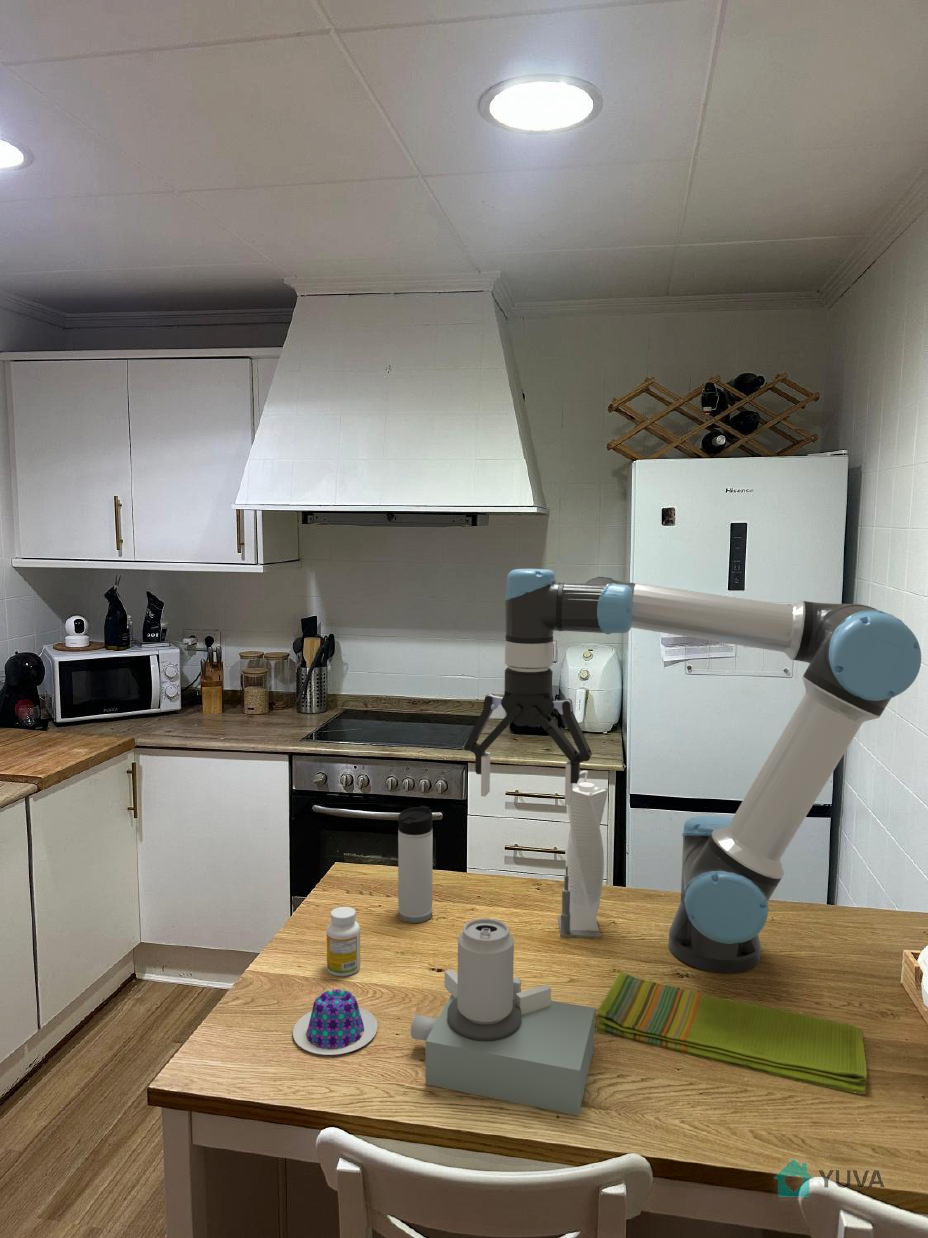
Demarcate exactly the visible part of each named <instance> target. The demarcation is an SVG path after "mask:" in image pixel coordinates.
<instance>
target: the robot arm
mask: <svg viewBox="0 0 928 1238" xmlns="http://www.w3.org/2000/svg"><path fill="white" fill-rule="evenodd" d="M504 601H505V639H504V640H505V643H504V664H505V665H506V666H507V667H505V668H506V669H504V693H503V696H497V695H496V694H494V693H493V692H492V693H489V694H488V695H487V696H485V697H484V701H483V709H482V711H481V714H480V715H479V717H477V720H476V722H475V725H474V727H473V728H472V730H471V732H470V734H469V736H468V738H467V740H466V742H464V743H465V744H464V745H463V749H464V750H465V751H467V752H471V753H473V754H474V757H475V758H474V759H475V760H474V761H475V768H474V769H475V770H474V771H475V774H476V775H480V796H481V797H487V795H488V794H489V793H490V791H491V787H490V785H491V752H486V750H488V748H489V747H490V746H491V745H492V744H493V743H494V742H495V741H496V740H497V739H498V737H499V736H500V735H501V734H502V733H503V732H504V731H505V730H506V729H507V727H508V726H510V724H511V723H513V724H515V725H516V727H524V726H527V727H530V728H537V727H539V726H541V728H542V729H543V731H545V732H546V733H547V734H548V735H549V736H550V737H551V739H552V740H553V742H554V743H555V744H556V745H557V747H558V748H559V749H560V750H561V751H562V753H563V754H564V755H565V757H566V758H567V759H568V760H567V761H566V763H565V774H564V775H565V783H564V806H568V805H570V803H571V801H572V792H573V787H574V784H576V785H577V784H578V782H579V781H580V778H581V777H580V775H581V774H580V772H581V769H580V768H581V763H583V762H589V761H590V760H591V757H592V755H593V753H592V750H591V748H590V746H589V743H588V742H587V739H586V737H585V734H584V733H583V730H582V728H581V727H580V724H579V722H578V720H577V718H576V716H575V714H574V707H573V700H572V699H571V698H566V699H564V700H555V699H554V696H553V670H552V669H551V668H550V667H552V665H554V632H557V631H558V632H575V633H577V632H578V633H579V632H580V633H595V634H596V633H597V634H605V635H611V634H625V633H628V632H629V631H630V630H631V629H639V630H642V631H643V630H645V631H652V632H658V633H663V634H669V635H675V636H681V637H688V638H695V639H700V640H705V641H713V642H718V643H724V644H731V645H737V646H744V647H749V648H756V649H763V650H767V651H768V650H769V651H775V652H781V653H784V654H785V655H786V656H787V657H788V659H789V660H792V661H798V662H803V663H808V664H809V665H808V667H807V669H806V670H805V672H804V674H803V675H802V677H801V678H802V681H803V685H804V687H805V694H804V695H803V697H802V699H801V700H800V702H799V704H798V706H797V707H796V709H795V710H794V712H793V714H792V716H791V717H790V719H789V720H788V722H787V724H786V726H785V728H784V729H783V731H782V733H781V735H780V736H779V738H778V739H777V741H776V743H775V745H774V747H773V748H772V750H771V751H770V754H769V755H768V756H767V759H766V761H765V762H764V763H763V765H762V767H761V769H760V771H759V772H758V773H757V776H756V777H755V779H754V781H753V783H752V784H751V785H750V788H749V790H748V791H747V793H746V794H745V796H744V798H743V800H742V801H741V803H740V804H739V807H738V809H737V810H736V812H735V813H734V816H733V817H727V816H716V815H698V816H697V815H696V816H693V817H690V818H687V819H686V820H685V822H684V824H683V832H682V834H681V837H682V858H681V859H682V860H681V880H680V881H681V882H680V883H681V884H680V902H679V905H678V908H677V910H676V912H675V915H674V918H673V920H672V922H671V925H670V927H669V930H668V931H669V932H668V948H669V951H670V952H671V953H672V955H673V956H674V957H676V958H677V959H678V960H680V961H681V962H683V963H685V964H686V965H689V966H690V967H693V968H696V969H699V970H703V971H707V972H712V973H721V974H737V973H743V972H747V971H749V969H750V970H752V969H753V968H755V967H756V966H758V965H759V963H760V961H761V953H762V951H761V950H762V946H761V940H760V937H759V934H760V933H761V931H762V930H764V928H765V925H766V924H767V919H768V917H769V908H770V907H769V900H770V898H771V896H772V895H773V893H774V892H775V890H776V889H777V887H778V886H779V883H780V882H781V880H782V879H783V877H784V875H785V872H784V869H783V866H782V865H783V864H782V861H781V858H782V857H783V855H784V853H785V852H786V850H787V848H788V847H789V845H790V844H791V842H792V840H793V839H794V837H795V836H796V834H797V832H798V830H799V828H800V827H801V826H802V825H803V822H804V821H805V819H806V817H807V815H808V814H809V812H810V810H811V809H812V807H813V805H814V803H816V801H817V799H818V797H819V796H820V794H821V793H822V791H823V789H824V787H825V785H826V784H827V783H828V781H829V779H830V777H831V776H832V773H834V771H835V769H837V766H838V764H839V763H840V761H841V759H842V758H843V756H844V755H845V753H846V751H847V749H848V748H849V746H850V745H851V744H852V742H853V740H854V738H855V737H856V734H857V732H859V730H860V728H861V726H862V724H863V723H865V722H868V721H871V720H872V721H873V720H876V719H880V717H881V716H882V714H883V712H884V711H885V709H886V708H887V706H888V704H889V702H891V699H893V698H895V697H896V696H898V695H900V694H901V695H902V694H903V693H904V692H906V691H907V689H909V688H910V686H912V685H913V683H914V682H915V681H916V679H917V677H918V675H919V672H920V670H921V666H922V651H921V650H922V649H921V646H920V643H919V641H918V638H917V637H916V635H915V634H914V632H913V631H912V629H910V628H909V626H908V625H906V624H905V623H904V622H903V620H901V619H900V618H897V617H896V616H895V615H893V614H890V613H888V612H884V611H882V610H880V609H879V610H878V609H877V608H874V607H872V606H869V605H864V604H862V603H861V604H859V603H856V604H855V603H827V602H826V603H825V602H815V601H814V602H813V601H808V600H807V601H806V600H799V601H798V602H797V603H794V604H793V605H792V604H791V605H789V604H783V603H776V602H770V601H761V600H756V599H748V598H743V597H742V598H741V597H735V596H727V595H721V594H713V593H707V592H700V591H694V590H693V591H692V590H685V589H682V588H681V589H680V588H679V589H678V588H672V587H666V586H658V585H652V584H646V583H639V582H635V583H634V582H631V581H623V580H618V579H613V578H612V577H609V576H602V575H601V576H597V577H591V579H589V580H587V581H586V582H585V583H584V582H583V583H581V582H580V583H575V582H573V583H565V582H559V581H557V579H556V578H555V572H554V571H553V570H551V569H547V568H546V569H542V568H516V569H512V570H511V571H509V573H508V574H507V578H506V591H505V597H504ZM500 705H501V706H502V708H503V710H504V711H505V713H506V716H505V717H504V718H503V719H502V720H501V721H500V722H499V723H498V724H497V725H496V727H495V728H494V729H493V730H492V731H491V732H490V733H489V734H488V735H487V737H486V738H484V740H482V742H481V743H477V742H478V740H479V738H480V737H481V734H482V733H483V731H484V729H485V727H486V725H487V723H488V721H489V719H490V718H491V715H492V714H493V711H494V710H496V709H498V707H499V706H500ZM554 709H556V710H557V712H558V713H559V715H561V716H563V720H564V722H565V724H566V727H567V729H568V730H569V733H570V735H571V738H572V739H573V742H574V744H575V746H576V748H577V749H576V748H575V746H573V744H572V743H571V742H570V740H569V739H568V738H567V736H566V735H565V734H564V732H563V731H562V730H561V729H560V728H559V726H558V725H557V723H556V721H555V719H554V718H553V717H552V716H551V713H552V711H554Z"/></svg>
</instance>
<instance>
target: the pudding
mask: <svg viewBox="0 0 928 1238" xmlns="http://www.w3.org/2000/svg"><path fill="white" fill-rule="evenodd" d="M377 1031H378V1021H377V1019H376V1018H375V1016H374V1015H373V1014H372V1013H371V1012H370V1011H368V1010H367V1009H365V1008H363V1007H360V1006H359V1004H358V1000H357V998H356V997H355V996H354V995H353V993H352V992H351V991H349V990H343V989H338V988H335V989H332V990H326V991H323V992H322V993H321V994H320V995H318V996H317V997H316V998H315V1000H314V1001H313V1005H312V1010H311V1011H308V1012H307V1013H305V1014H304V1015H302V1016H301V1017H300V1018H299V1019H298V1020H297V1022H296V1023H295V1025H294V1026H293V1029H292V1036H293V1037H292V1038H293V1040H294V1041H295V1043H296V1044H297V1045H298V1046H299V1047H300V1048H302V1049H303V1050H305V1051H307V1052H309V1053H314V1054H316V1055H323V1056H324V1055H325V1056H326V1055H327V1056H328V1055H329V1056H330V1055H331V1056H333V1055H335V1056H336V1055H342V1054H343V1055H344V1054H347V1053H350V1052H353V1051H356V1050H358V1049H360V1048H362V1047H364V1046H365V1045H367V1044H368V1043H369V1042H370V1041H371V1040H373V1038H374V1037H375V1036H376V1033H377ZM307 1033H308V1035H307ZM362 1033H363V1035H362ZM352 1043H353V1044H352ZM313 1044H316V1045H317V1046H315V1045H313ZM350 1044H351V1045H350ZM331 1048H334V1049H331Z"/></svg>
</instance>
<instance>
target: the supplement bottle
mask: <svg viewBox="0 0 928 1238" xmlns="http://www.w3.org/2000/svg"><path fill="white" fill-rule="evenodd" d="M356 915H357V913H356V909H354V908H353V907H351V906H339V907H336V908H334V909H332V910H331V912H330V923H329V924H328V925H327V927H326V968H327V971H328V972H329V973H330V974H331V975H333V976H335V977H347V976H352V975H354V974H355V973H358V971H359V970H360V969H361V927H360V924H359V922H357V921H356V920H357V919H356V918H357V916H356Z"/></svg>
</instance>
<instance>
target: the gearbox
mask: <svg viewBox="0 0 928 1238" xmlns="http://www.w3.org/2000/svg"><path fill="white" fill-rule="evenodd" d="M457 986H458V972H456V971H454V970H453V969H452V968H451V969H447V970H444V989H445V990H446V991H448V993H449V994H450V996H449V998H448V999H447V1001H446V1004H445V1005H444V1007H443V1009H442V1010H441V1012H440V1013H439V1016H438V1017H437V1018H436V1017H433V1016H432V1017H431V1016H425V1015H420V1014H415V1015H414V1017H413V1019H412V1021H411V1022H412V1023H411V1025H410V1026H411V1027H410V1036H411V1039H414V1040H419V1041H423V1042H425V1044H424V1045H425V1048H424V1049H425V1055H424V1056H425V1057H424V1058H425V1059H424V1060H425V1065H424V1067H425V1072H424V1073H425V1075H424V1076H425V1077H424V1079H425V1080H424V1081H425V1082H424V1083H425V1085H427V1086H432V1087H438V1088H442V1089H447V1090H452V1091H455V1092H462V1093H466V1094H472V1095H477V1096H480V1097H485V1098H491V1099H496V1100H499V1101H506V1102H511V1103H515V1104H519V1105H525V1106H530V1107H534V1108H538V1109H544V1110H550V1111H553V1112H554V1111H555V1112H559V1113H564V1114H567V1115H573V1116H577V1117H579V1116H580V1111H581V1107H582V1101H583V1098H584V1095H585V1094H584V1093H585V1090H586V1085H587V1082H588V1081H587V1080H588V1076H589V1071H590V1068H591V1063H592V1059H593V1054H594V1049H595V1029H596V1025H595V1023H596V1008H595V1007H592V1006H587V1005H586V1006H585V1005H581V1004H576V1003H575V1004H574V1003H569V1002H562V1001H556V1000H552V997H551V996H552V995H551V994H552V988H551V987H549V986H548V985H547V984H543V985H539V986H537V987H536V986H535V987H533V988H529V989H526V990H524V991H521V990H522V978H517V977H516V978H515V977H513V1008H512V1011H511V1013H510V1014H509V1015H508V1016H507V1017H505V1018H504V1019H503V1020H502V1021H499V1022H497V1023H494V1024H484V1025H483V1024H477V1023H474V1022H471V1021H469V1020H468V1019H467V1018H466V1017H465V1016H464V1015H462V1014H461V1013H460V1011H459V1010H458V1006H457Z"/></svg>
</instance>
